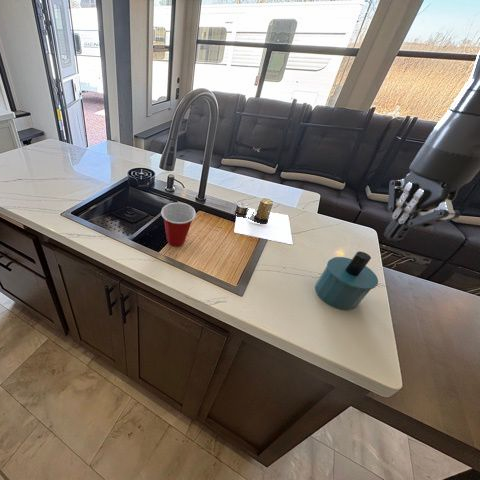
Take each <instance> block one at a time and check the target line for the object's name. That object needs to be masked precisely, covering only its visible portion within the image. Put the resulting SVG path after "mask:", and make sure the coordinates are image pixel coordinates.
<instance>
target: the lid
mask: <svg viewBox="0 0 480 480" xmlns="http://www.w3.org/2000/svg"><path fill="white" fill-rule="evenodd" d="M371 259H372V256H371V255H370V254H368V253H366V252H364V251H357V252H356V253H355V254H354V255H353V257H352V258H349V257H344V256H334V257H331V258H330V259H329V260H328V261H327V263H326V267H327V268H328V270H329V272H330V273H331V274H332V275H333V276H334V277H335V278H336V279H337V280H339V281H340V282H342V283H344V284H346V285H348V286H350V287H353V288H357V289H362V290H369V289H371V290H373V289H375V288H376V287H377V286H378V285H379V278H378V276H377V274H376V273H375V272H374V271H373V270H372V269H371V268H370V267H368V266H367V264H368V263H369V262H370V260H371Z"/></svg>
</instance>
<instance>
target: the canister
mask: <svg viewBox="0 0 480 480" xmlns="http://www.w3.org/2000/svg"><path fill="white" fill-rule="evenodd" d="M314 290H315V293H316V294H317V296H318V297H319V298H320V299H321V301H323V302H324V303H326V304H327V305H328V306H331V307H332V308H335V309H337V310H340V311H341V310H342V311H352V310H354V309H356V308H357V306H359V304H360V303H361V302H362V301H363V300H364V298H365V297H366V296H367V295H368V294H369V292H370V291H371V290H372V289H369V290H362V289H357V288H353V287H350V286H348V285H346V284H344V283H342V282H340V281H339V280H337V279H336V278H335V277H334V276H333V275H332V274H331V273H330V272H329V270H328V268H327V266H326V267H325V268H324V270H323V271H322V273H321V275H320V276H319V278H318V280H317V281H316V283H315V286H314Z"/></svg>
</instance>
